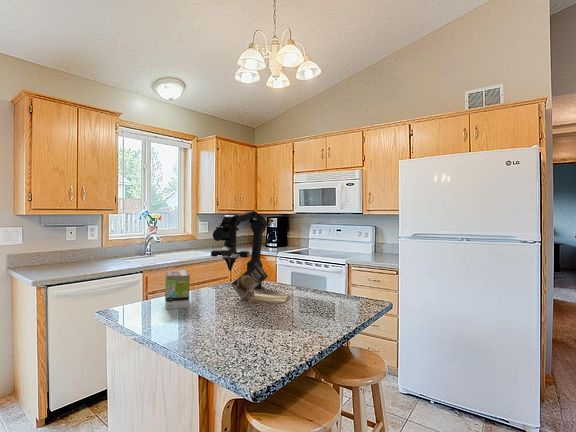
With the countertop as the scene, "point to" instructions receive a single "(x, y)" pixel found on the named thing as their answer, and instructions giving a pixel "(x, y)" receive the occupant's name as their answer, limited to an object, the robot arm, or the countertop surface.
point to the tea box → (177, 289)
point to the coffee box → (249, 280)
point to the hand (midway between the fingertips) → (230, 270)
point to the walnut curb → (249, 295)
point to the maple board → (268, 298)
